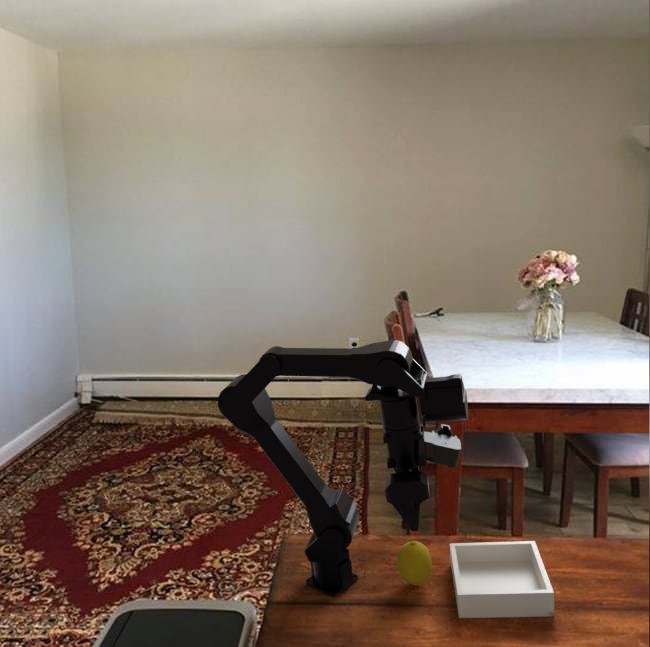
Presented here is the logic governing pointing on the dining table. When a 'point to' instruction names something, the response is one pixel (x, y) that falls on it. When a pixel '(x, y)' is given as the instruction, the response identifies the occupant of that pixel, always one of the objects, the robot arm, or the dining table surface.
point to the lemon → (414, 563)
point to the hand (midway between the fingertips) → (415, 515)
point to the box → (500, 580)
